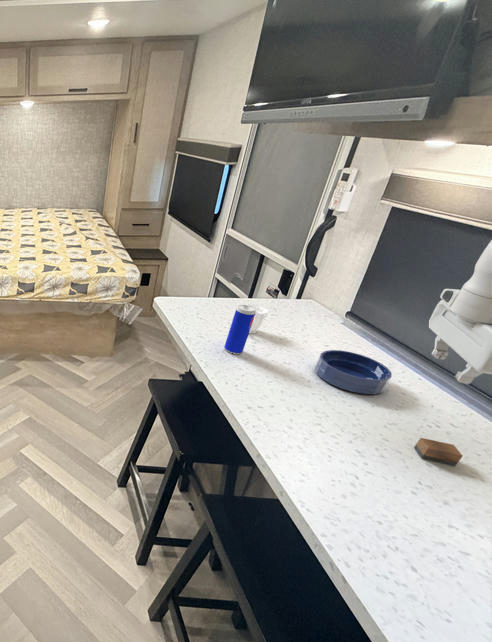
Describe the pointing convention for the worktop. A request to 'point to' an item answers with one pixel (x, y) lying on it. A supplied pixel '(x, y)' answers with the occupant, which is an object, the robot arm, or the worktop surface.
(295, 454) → the worktop surface
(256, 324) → the cup
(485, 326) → the robot arm
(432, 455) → the eraser
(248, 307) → the beverage can
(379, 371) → the bowl
